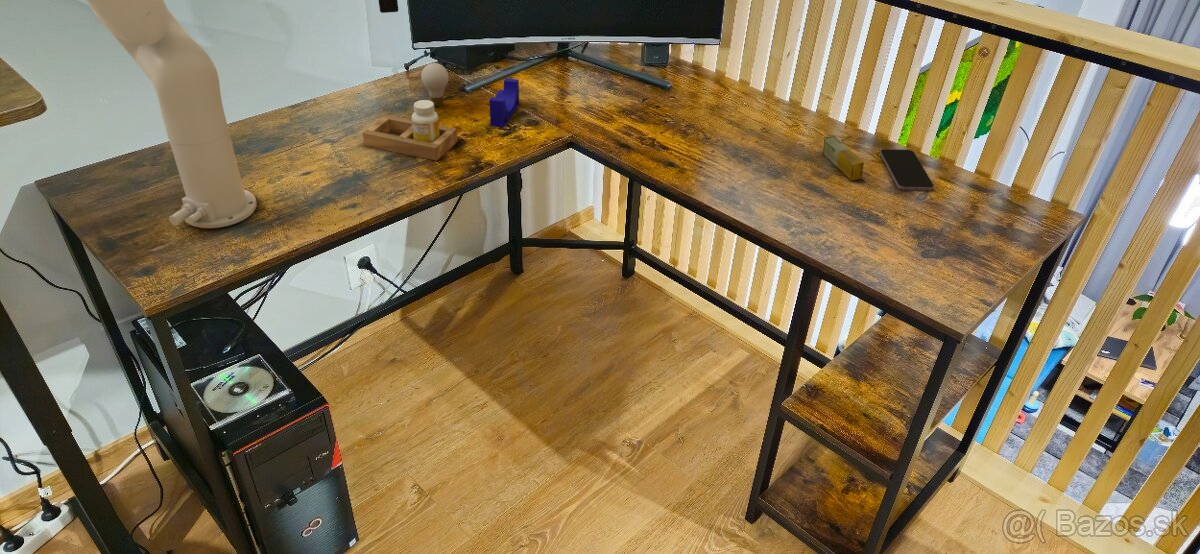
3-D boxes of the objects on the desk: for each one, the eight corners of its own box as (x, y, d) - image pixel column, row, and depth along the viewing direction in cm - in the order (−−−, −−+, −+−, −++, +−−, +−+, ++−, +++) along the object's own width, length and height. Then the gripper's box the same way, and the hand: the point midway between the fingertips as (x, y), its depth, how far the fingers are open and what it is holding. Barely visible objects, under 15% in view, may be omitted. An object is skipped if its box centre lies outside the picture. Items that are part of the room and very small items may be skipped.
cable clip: (500, 102, 193) (499, 77, 189) (519, 104, 192) (518, 79, 189) (483, 124, 183) (482, 99, 180) (503, 127, 183) (502, 101, 179)
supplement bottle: (421, 155, 171) (417, 112, 166) (409, 145, 175) (405, 102, 169) (445, 148, 174) (441, 105, 168) (433, 138, 177) (429, 96, 172)
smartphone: (899, 187, 166) (878, 148, 177) (897, 191, 166) (877, 153, 178) (935, 187, 166) (913, 149, 178) (934, 192, 167) (911, 154, 178)
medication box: (821, 154, 177) (823, 137, 175) (833, 152, 178) (835, 135, 175) (850, 181, 168) (853, 163, 166) (863, 178, 168) (865, 161, 166)
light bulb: (456, 105, 191) (453, 63, 185) (438, 114, 187) (434, 71, 181) (436, 98, 193) (432, 56, 187) (418, 107, 189) (414, 65, 183)
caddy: (436, 161, 170) (435, 147, 168) (364, 145, 174) (362, 132, 172) (458, 141, 177) (457, 128, 175) (387, 127, 181) (386, 114, 179)
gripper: (351, -110, 148) (365, -12, 158) (352, -85, 135) (368, 20, 145) (394, -111, 150) (406, -14, 160) (400, -87, 136) (412, 17, 146)
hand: (388, 2), depth 152 cm, fingers open, 9 cm apart
